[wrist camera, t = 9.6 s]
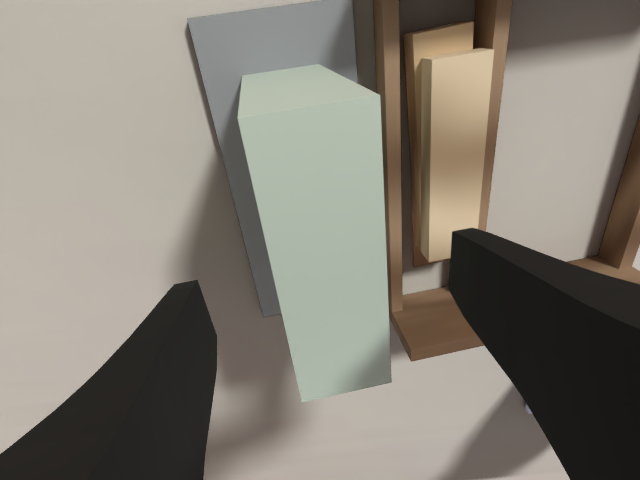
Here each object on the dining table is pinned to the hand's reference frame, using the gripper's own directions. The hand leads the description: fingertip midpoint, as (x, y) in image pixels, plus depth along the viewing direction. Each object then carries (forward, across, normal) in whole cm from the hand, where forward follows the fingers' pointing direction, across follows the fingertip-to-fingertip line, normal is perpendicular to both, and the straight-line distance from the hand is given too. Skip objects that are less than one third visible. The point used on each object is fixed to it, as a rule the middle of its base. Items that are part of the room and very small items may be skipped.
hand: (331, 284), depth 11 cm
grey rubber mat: (+8, 0, 0) cm, 8 cm away
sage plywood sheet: (+8, 0, 0) cm, 8 cm away
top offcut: (+7, -7, 0) cm, 10 cm away
